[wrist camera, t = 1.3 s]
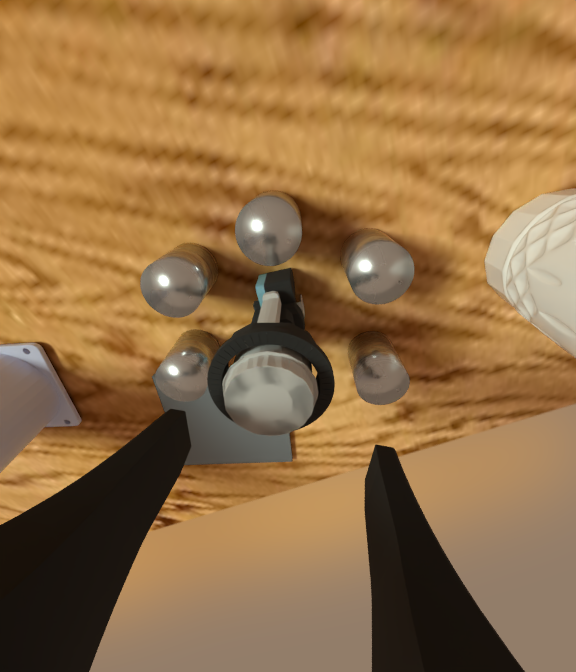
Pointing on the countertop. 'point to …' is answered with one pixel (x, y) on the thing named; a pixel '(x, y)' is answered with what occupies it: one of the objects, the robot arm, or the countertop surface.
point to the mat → (224, 435)
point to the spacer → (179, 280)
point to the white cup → (539, 265)
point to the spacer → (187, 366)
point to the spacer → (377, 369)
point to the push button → (272, 365)
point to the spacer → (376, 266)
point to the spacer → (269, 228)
